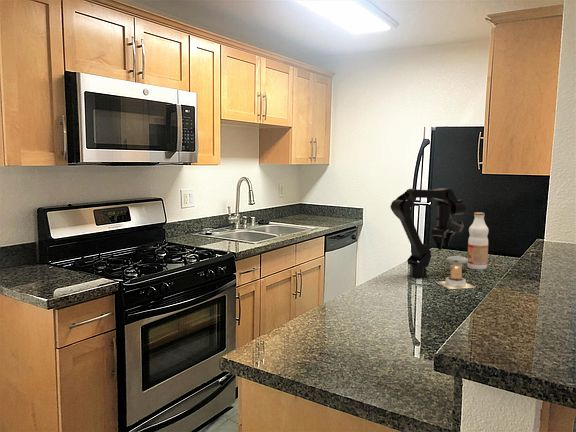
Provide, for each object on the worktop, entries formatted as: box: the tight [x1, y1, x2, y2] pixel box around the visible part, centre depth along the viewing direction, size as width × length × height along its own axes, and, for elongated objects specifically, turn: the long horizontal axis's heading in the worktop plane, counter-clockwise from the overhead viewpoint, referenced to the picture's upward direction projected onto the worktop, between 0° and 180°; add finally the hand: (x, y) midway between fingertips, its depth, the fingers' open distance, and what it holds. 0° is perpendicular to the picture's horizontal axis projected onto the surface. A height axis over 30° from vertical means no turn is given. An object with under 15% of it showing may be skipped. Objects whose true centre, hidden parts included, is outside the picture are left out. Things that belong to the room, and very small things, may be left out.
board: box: [436, 280, 477, 290], centre depth 198 cm, size 12×12×1 cm
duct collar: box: [445, 276, 467, 287], centre depth 198 cm, size 8×8×2 cm
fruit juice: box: [466, 211, 490, 270], centre depth 232 cm, size 9×9×28 cm
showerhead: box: [447, 254, 468, 268], centre depth 227 cm, size 9×7×10 cm
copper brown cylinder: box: [449, 264, 463, 281], centre depth 197 cm, size 4×4×8 cm
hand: (443, 248), depth 216 cm, fingers open, 9 cm apart
